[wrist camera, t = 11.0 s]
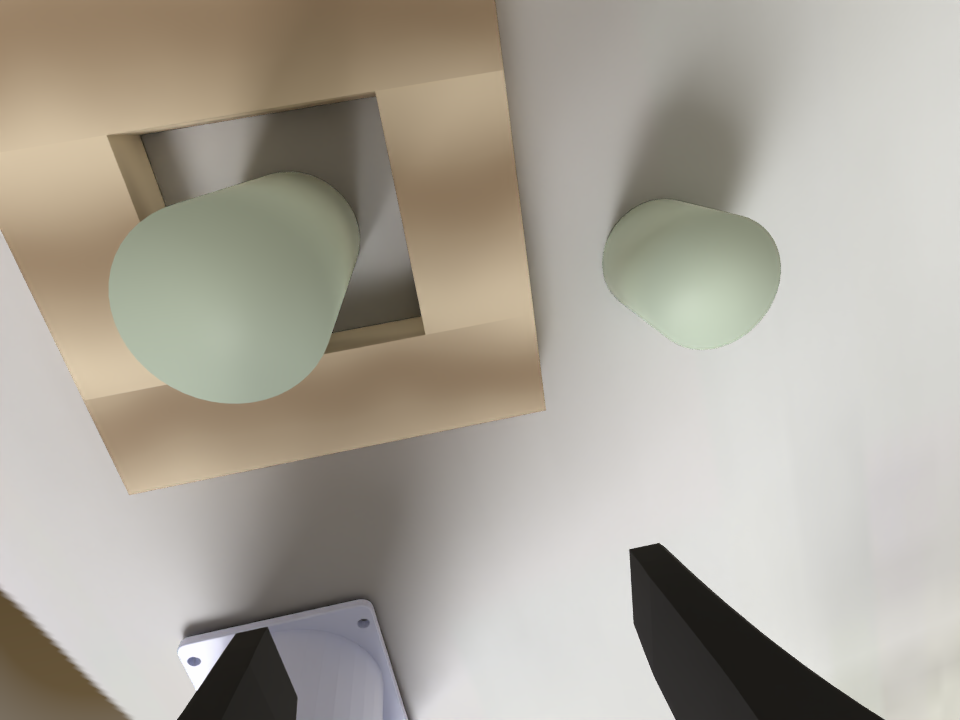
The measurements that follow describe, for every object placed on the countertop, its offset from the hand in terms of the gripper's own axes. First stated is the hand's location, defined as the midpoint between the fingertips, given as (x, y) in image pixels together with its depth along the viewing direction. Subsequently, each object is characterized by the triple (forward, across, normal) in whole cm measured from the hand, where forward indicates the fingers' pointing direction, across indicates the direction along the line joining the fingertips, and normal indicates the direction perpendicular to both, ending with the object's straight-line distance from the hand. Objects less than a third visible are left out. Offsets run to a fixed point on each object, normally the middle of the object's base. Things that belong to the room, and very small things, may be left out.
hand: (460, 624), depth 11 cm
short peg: (+11, -9, -4) cm, 14 cm away
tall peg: (+10, +3, -6) cm, 13 cm away
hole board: (+10, +3, -6) cm, 13 cm away
